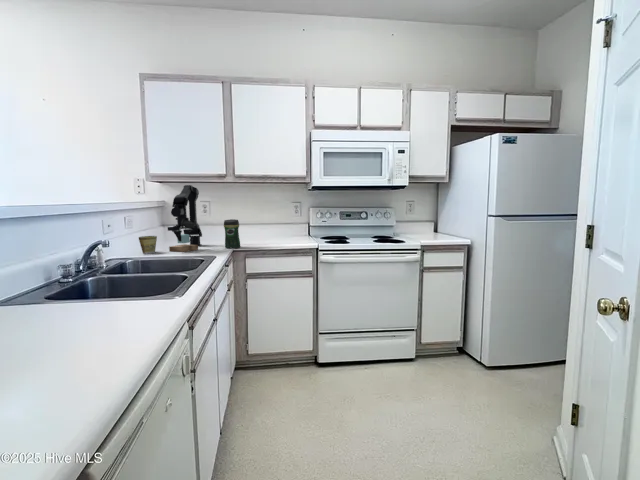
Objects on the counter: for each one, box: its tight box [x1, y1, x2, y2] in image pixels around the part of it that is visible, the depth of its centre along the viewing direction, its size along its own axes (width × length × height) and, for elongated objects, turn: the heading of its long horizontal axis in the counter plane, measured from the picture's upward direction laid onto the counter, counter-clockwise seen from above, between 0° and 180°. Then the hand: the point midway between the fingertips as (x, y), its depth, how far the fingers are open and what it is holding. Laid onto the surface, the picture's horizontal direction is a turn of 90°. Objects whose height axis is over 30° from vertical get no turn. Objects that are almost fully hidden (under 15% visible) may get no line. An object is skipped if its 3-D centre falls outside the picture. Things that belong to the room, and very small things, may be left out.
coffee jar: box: [223, 218, 241, 249], centre depth 228 cm, size 10×8×19 cm
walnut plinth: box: [168, 243, 199, 253], centre depth 221 cm, size 12×12×3 cm
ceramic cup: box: [138, 235, 158, 254], centre depth 216 cm, size 13×10×10 cm
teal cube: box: [176, 233, 190, 244], centre depth 221 cm, size 5×5×5 cm
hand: (183, 241), depth 221 cm, fingers closed on teal cube, 5 cm apart
